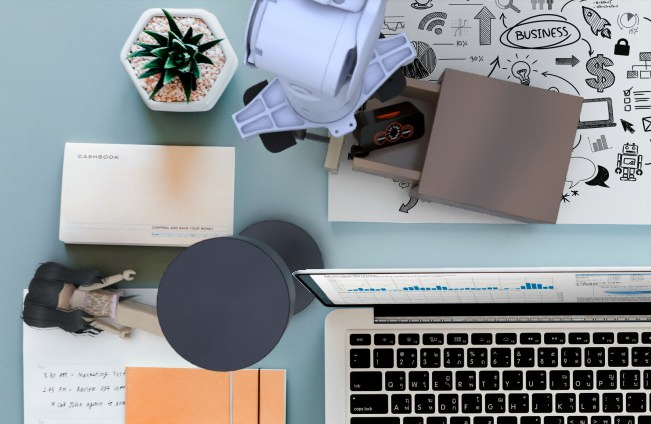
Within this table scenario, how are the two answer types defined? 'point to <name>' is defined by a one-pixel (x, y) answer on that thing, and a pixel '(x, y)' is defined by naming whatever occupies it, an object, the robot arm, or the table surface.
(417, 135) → the black dial device
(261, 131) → the robot arm
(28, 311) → the toy figure
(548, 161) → the cabinet
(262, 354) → the desk lamp
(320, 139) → the drawer
